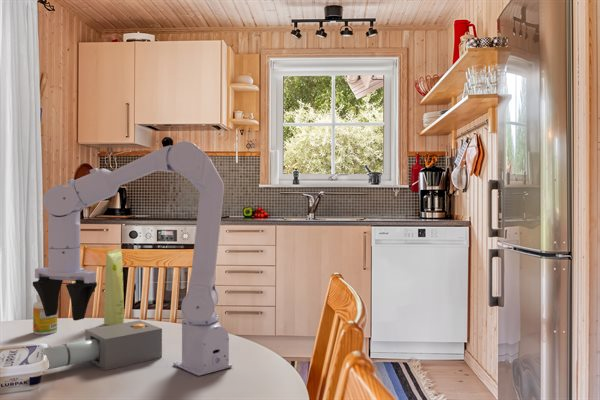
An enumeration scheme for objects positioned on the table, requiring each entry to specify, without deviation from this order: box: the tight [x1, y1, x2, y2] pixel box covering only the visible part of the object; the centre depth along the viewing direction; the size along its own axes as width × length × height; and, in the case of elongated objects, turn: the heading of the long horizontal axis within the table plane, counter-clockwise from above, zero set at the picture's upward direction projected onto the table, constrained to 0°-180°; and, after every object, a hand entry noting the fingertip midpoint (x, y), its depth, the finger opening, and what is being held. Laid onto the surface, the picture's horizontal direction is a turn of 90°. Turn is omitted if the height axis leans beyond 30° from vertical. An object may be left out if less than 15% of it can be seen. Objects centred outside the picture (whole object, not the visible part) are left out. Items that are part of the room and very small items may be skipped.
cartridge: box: [42, 339, 100, 370], centre depth 102 cm, size 13×4×4 cm, turn 133°
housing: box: [84, 319, 163, 371], centre depth 108 cm, size 12×10×6 cm
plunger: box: [133, 324, 145, 329], centre depth 111 cm, size 2×2×3 cm
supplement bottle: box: [32, 293, 58, 336], centre depth 129 cm, size 5×5×10 cm
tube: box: [103, 248, 125, 326], centre depth 138 cm, size 6×5×20 cm
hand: (64, 317), depth 102 cm, fingers open, 7 cm apart
